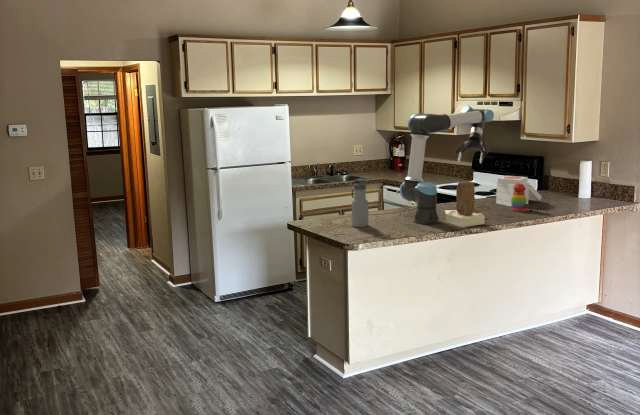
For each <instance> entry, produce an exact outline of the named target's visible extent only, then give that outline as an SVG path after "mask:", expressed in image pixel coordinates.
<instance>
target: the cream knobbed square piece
mask: <svg viewBox="0 0 640 415" xmlns="http://www.w3.org/2000/svg"><path fill="white" fill-rule="evenodd" d="M485 217H486V216H485V215H483V213H480V212H479V213H475V212H473V214H472V215H469V216H465V215H461V214H459V213H457V212H456V213H452V212H448V214H446V213H445V223H447V224H452V225H454V226H458V227H461V228H465V227H472V226H473V227H474V226H479V225H485Z"/></svg>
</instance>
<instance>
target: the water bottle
mask: <svg viewBox="0 0 640 415" xmlns="http://www.w3.org/2000/svg"><path fill="white" fill-rule="evenodd" d="M364 182H365V179H364V178H355V179H354V180H353V183H352V186H353V189H351V198H353V200H352V201H351V226H352V227H354V228H366V226H367V227H368V226H369V200H367V198H366V197H367V196H366V190H367V184H366V183H364Z"/></svg>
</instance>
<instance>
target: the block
mask: <svg viewBox="0 0 640 415" xmlns="http://www.w3.org/2000/svg"><path fill="white" fill-rule="evenodd" d="M455 191H456V193H455V194H456V196H455V197H456V198H455V199H456V210H457V213H459V214H461V215H465V216H469V215H472V214H473V213H474V211H475V200H476V198H475V196H476V195H475V193H476V192H475V182H473V181H471V180H461V181H458V184H457V185H456V190H455Z"/></svg>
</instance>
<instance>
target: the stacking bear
mask: <svg viewBox="0 0 640 415" xmlns="http://www.w3.org/2000/svg"><path fill="white" fill-rule="evenodd" d="M525 189H526V188H525V186H524V185H523V184H521V183H516V185H515V186H514V190H515V192H514V193H513V194H512V198H511V205H512V207H511V208H510V210H511V211H512V212H517V211H521V212H522V213H526V212H527V211H528V212H529V209H528V208H526V205H525V204H526V196H525V193H524V191H525Z"/></svg>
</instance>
